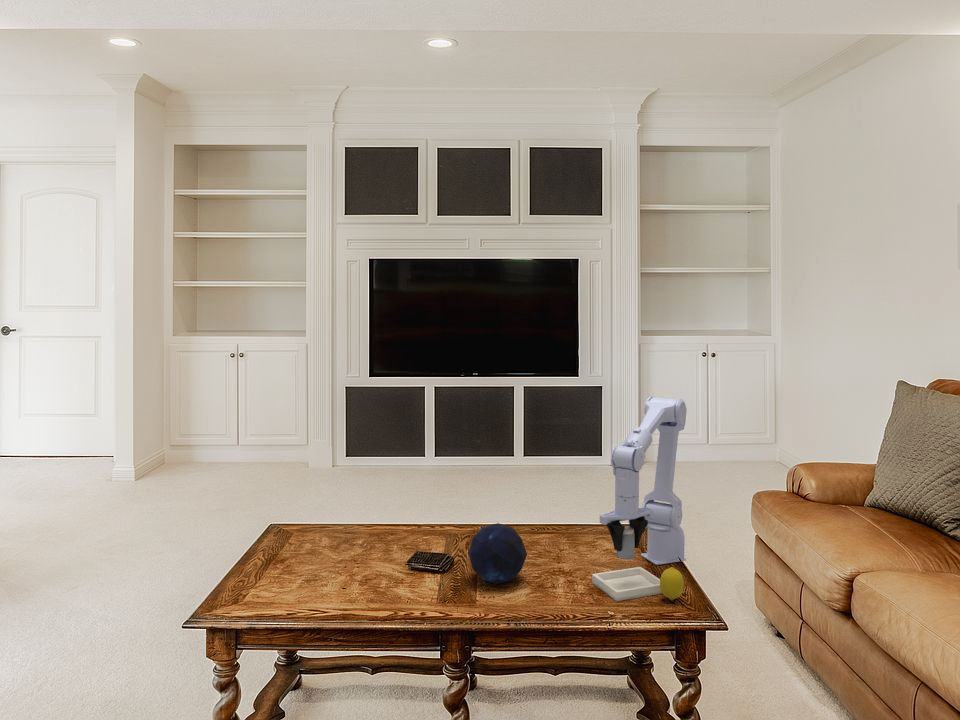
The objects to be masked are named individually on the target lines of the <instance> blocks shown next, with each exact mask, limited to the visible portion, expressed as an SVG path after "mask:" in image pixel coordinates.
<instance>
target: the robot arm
mask: <svg viewBox="0 0 960 720" xmlns="http://www.w3.org/2000/svg"><path fill="white" fill-rule="evenodd" d="M643 414H644V416H643V418H642V420H641V422H640V424H639V426H638V427H634V428H633V429H632V430H631V431H630V433H629V434H628V436H627V437H626V438H625V440H624V442H623V443H622V444H621V445H618V446H617V447H614V449H613V450H612V452H611V458H610V464H611V466H612V474H613V477H615V481H614V482H615V484H614V485H615V486H614V510H612V511H609V512H607V513H604V514H599V523H600V524H601V525H604V526H606V528H607V530H608V532H609V534H610V537H611V539H612V545H613V549H614V550H615V551H616V552H617V551H621V550H622V537H623V532H624V529H625V526H626V525H623V524H622V522H624V521H628V524H629V525H628V526H629V527H632V528H634V532H635V549H638V548H639V545H640V542H641V539H642V536H643V534H644V531H645V530H646V529H647V543H646V544H647V548H646V549H647V550H646V551H647V552H644V553H643V552H642V553H640V556H641V557H642V558H644V559H645V560H648V561H649V562H651V563H652V564H654V565H656V566H658V565H660V566H661V565H666V564H672V563H678V562H686V560H687V559H686V557H685V545H686V544H685V543H686V542H685V533H684V530H683V528H682V527H681V526H680V525H681V524H682V520H683V509H682V508H683V507H682V505H683V503H682V502H683V501H682V499H680V497H679V496H678V495H677V494H676V493H675V492H674V491H673V490H674V489H673V487H674V479H675V470H676V468H675V467H676V461H677V452H678V451H677V449H678V441H679V434H680V433H679V432H681V431H683V430H685V426H686V421H687V420H686V418H687V405H686V403H685V401H684V400H683V399H681V398H679V399H677V398H676V399H675V398H665V397H664V398H663V397H654V396H649V397H648V398H647V399H646V400H645V403H644V408H643ZM656 430H658V433H659V439H658V447H657V456H656V466H655V475H654V476H655V478H654V488H653V490H652V491H650V492H648V493H647V494H645V495H644V497H643V502H642V506H641V507H640V508H639V506H640V505H639V503H640V501H639V500H640V499H639V498H640V471H641V470H642V469H643V465H644V461H645V458H646V452H647V450H648V449H649V447H650V446H651V444H652V443H653V434H654V432H655V431H656ZM678 557H679V558H680V559H681V561H680V560H679V558H678Z"/></svg>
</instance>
